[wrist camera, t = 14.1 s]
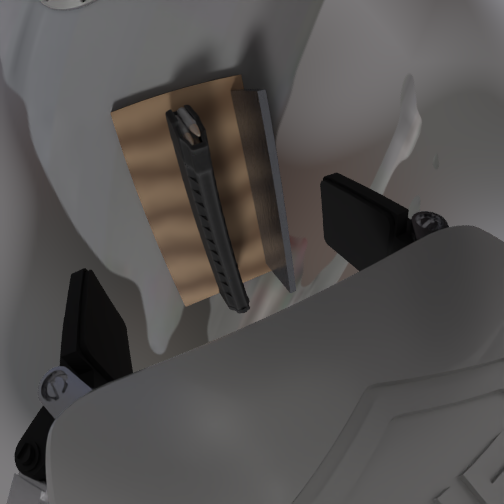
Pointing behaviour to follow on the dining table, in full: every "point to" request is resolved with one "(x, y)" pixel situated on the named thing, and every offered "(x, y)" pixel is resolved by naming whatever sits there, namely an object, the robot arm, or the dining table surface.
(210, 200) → the magazine
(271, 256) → the shelf wall
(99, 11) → the dining table surface
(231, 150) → the shelf board
